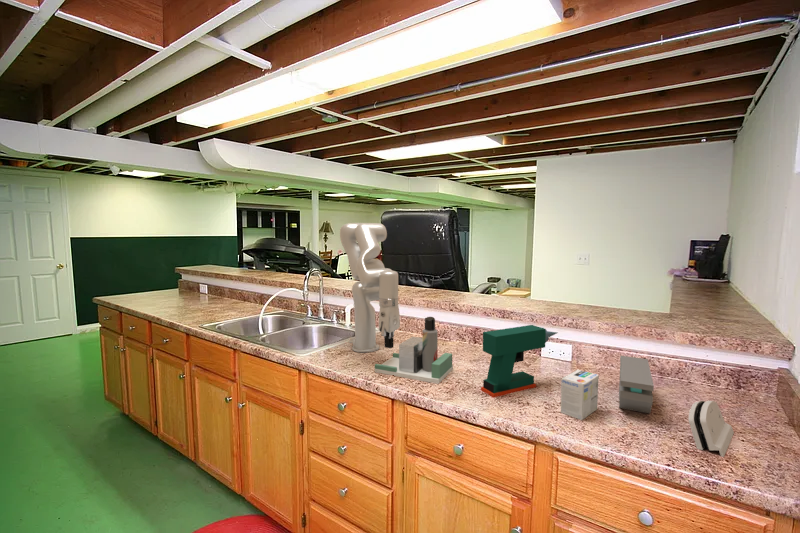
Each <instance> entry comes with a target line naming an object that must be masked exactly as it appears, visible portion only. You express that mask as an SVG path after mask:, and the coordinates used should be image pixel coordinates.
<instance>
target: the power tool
mask: <svg viewBox="0 0 800 533" xmlns="http://www.w3.org/2000/svg"><path fill="white" fill-rule="evenodd" d="M556 334H559V332H557V331H551V330H550V331H549V330H547V329H546V328H545V327H541V326H537V325H534V324H527V325H522V326H521V325H520V326H516V327H509V328H503V329H501V328H500V329H495V330H487V331H482V352H484V353H487V354H489V355H491V358H490V362H489V366H488V372H487V375H486V376H487V377H486V379H483V380H482V381H483V382H482V383H483V386H481V387H480V391H481V392H484V393H485V394H487V395H488V396H490V397H491V398H497V397H503V396H506V395H510V394H515V393H518V392H522V391H526V390H531V389H534V388H537V384H536V383H535V376H534V375H532V374H530V373H527V372H525V371H523V370H522V371H518V372H514V367H515V363H520V362H524V357H525V356H524V354H525V352H527V351H533V350H538V349H544V348H546V343H547V342H548V341H549V339H550V338H551V337H552V336H555V335H556Z"/></svg>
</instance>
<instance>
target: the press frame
mask: <svg viewBox="0 0 800 533" xmlns="http://www.w3.org/2000/svg"><path fill="white" fill-rule="evenodd" d="M453 370H454V365H453V353H451V352H450V353H449V352H444V353H442V354H441V356H439V357H438V359H437V360H436V361H434V362H433V363H432V372H427V371H424V370H423V368H422V369H421V370H420V371H419V372H417V373H411V372H405V371H400V370H399V352H393V353H392V357H391V358H389V359H387V360H386V361H384V362H383V363H381V364H380V363H375V364H374V373H377V374H381V373H382V375H387V376H392V375H394V376H393V377H398V378H403V379H408V380H409V379H410V380H414V379H415V380H414V381H421V382H425V383H431V384H432V383H433V384H437V385H439V384H440V383H441V382H442V381H443V380H444V379H445V378H446V377H447V376H448V375H449V374H450V373H451V372H452V371H453Z"/></svg>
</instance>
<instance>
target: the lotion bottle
mask: <svg viewBox="0 0 800 533" xmlns="http://www.w3.org/2000/svg"><path fill="white" fill-rule="evenodd" d="M421 335H422V336H421V338H422V362H423V370H424V371H427V372H432V363H433V362H434V361H436V360H437V359H438V358H439V357H438V350H439V349H438V348H439V347H438V344H439V343H438V339H439V337H438V335H439V332H438V330H437V328H436V318H435V317H433V316H427V317H425V318H424V329H422V332H421Z"/></svg>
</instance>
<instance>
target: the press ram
mask: <svg viewBox="0 0 800 533" xmlns="http://www.w3.org/2000/svg"><path fill="white" fill-rule="evenodd" d="M398 353H399V370H400V371H405V372H411V373H417V372H419V371H420V370H421V369H422V368H423V362H422V337H419V336H411V337H409V338H407V339H406V340H404V341H402V342H401V343H399V344H398Z"/></svg>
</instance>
